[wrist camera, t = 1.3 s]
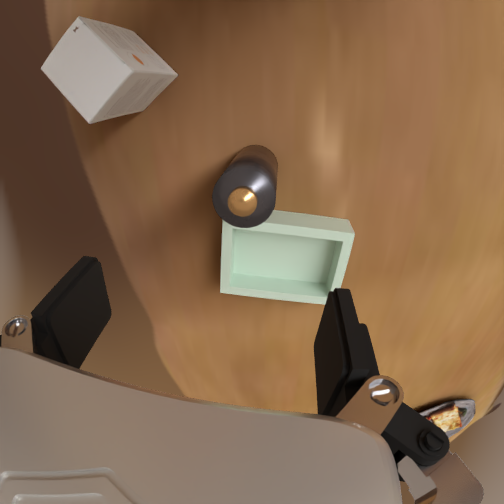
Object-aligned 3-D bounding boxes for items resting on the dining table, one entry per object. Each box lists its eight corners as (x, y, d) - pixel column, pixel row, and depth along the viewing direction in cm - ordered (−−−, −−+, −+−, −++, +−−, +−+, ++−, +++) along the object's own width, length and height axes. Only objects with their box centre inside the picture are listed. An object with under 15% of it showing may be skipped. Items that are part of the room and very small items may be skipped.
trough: (228, 205, 33) (222, 217, 29) (348, 219, 32) (354, 233, 29) (225, 275, 37) (220, 292, 34) (331, 287, 36) (335, 305, 33)
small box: (100, 67, 26) (37, 68, 16) (134, 29, 23) (76, 14, 14) (143, 113, 28) (87, 126, 19) (180, 75, 26) (133, 71, 17)
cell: (234, 143, 29) (211, 168, 20) (280, 147, 29) (278, 175, 20) (232, 185, 31) (209, 229, 22) (275, 189, 31) (271, 236, 22)
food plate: (370, 424, 52) (372, 438, 49) (471, 378, 45) (477, 391, 42) (393, 452, 62) (395, 463, 59) (471, 418, 54) (475, 428, 51)
